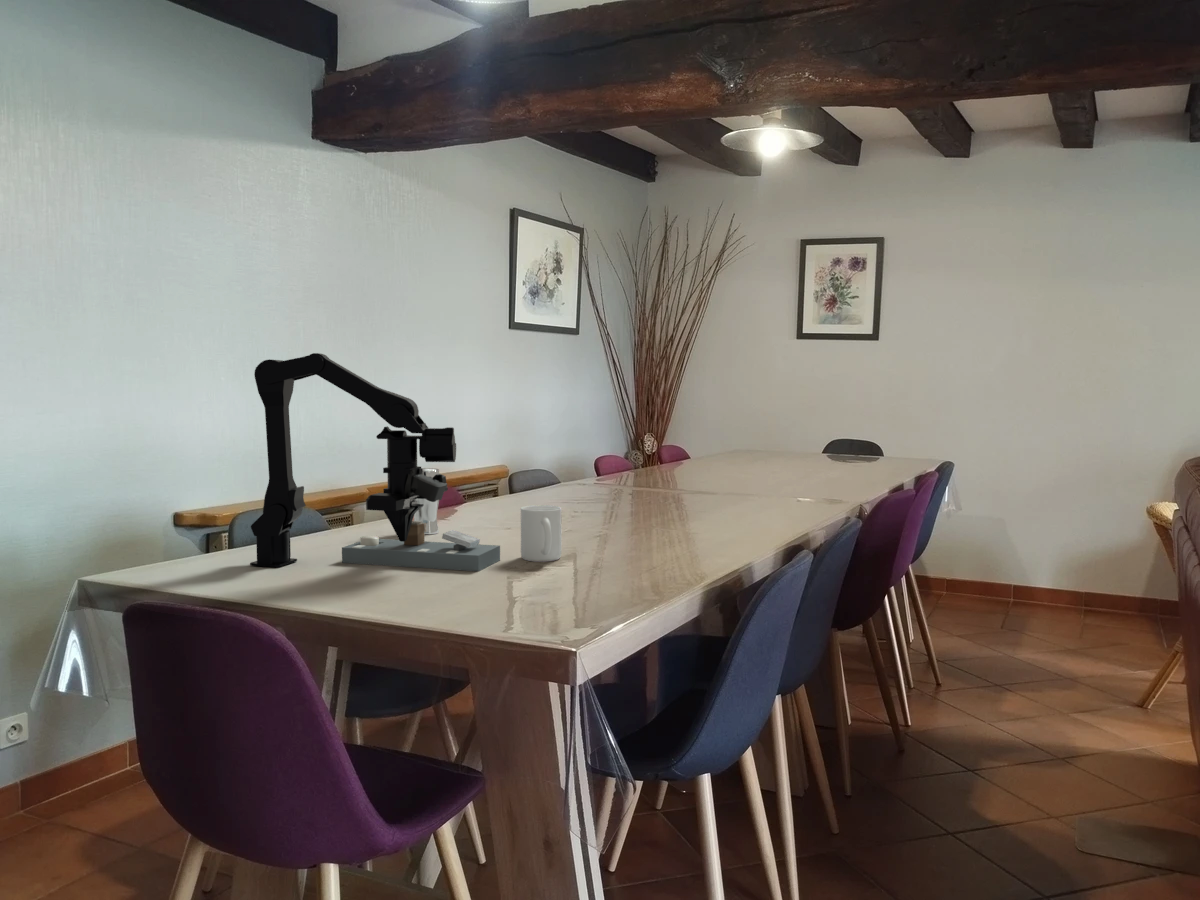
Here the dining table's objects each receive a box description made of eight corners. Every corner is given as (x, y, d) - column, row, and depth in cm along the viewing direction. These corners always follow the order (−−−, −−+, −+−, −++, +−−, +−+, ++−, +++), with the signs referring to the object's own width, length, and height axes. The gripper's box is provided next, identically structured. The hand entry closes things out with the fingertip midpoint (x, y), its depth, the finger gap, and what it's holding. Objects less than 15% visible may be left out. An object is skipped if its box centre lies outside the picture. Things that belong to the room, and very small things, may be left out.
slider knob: (417, 545, 183) (417, 523, 183) (404, 544, 184) (403, 522, 184) (424, 542, 186) (424, 521, 186) (411, 542, 187) (410, 520, 187)
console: (478, 571, 174) (478, 549, 173) (342, 562, 181) (341, 542, 181) (500, 560, 184) (500, 540, 184) (370, 552, 192) (369, 533, 192)
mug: (568, 565, 180) (568, 512, 180) (526, 566, 178) (526, 514, 178) (557, 553, 192) (557, 504, 191) (518, 555, 190) (517, 505, 189)
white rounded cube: (373, 558, 184) (373, 539, 183) (357, 557, 185) (356, 538, 184) (382, 554, 187) (381, 536, 187) (366, 553, 188) (366, 535, 188)
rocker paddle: (469, 547, 177) (470, 543, 177) (441, 538, 179) (442, 533, 179) (478, 543, 182) (479, 539, 182) (451, 534, 183) (452, 529, 183)
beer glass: (437, 535, 213) (436, 471, 212) (407, 535, 214) (406, 470, 212) (443, 530, 220) (442, 468, 219) (414, 530, 221) (413, 468, 219)
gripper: (419, 467, 168) (419, 551, 170) (459, 459, 186) (460, 535, 188) (364, 465, 171) (365, 548, 172) (409, 457, 189) (410, 532, 190)
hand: (403, 541), depth 181 cm, fingers closed
